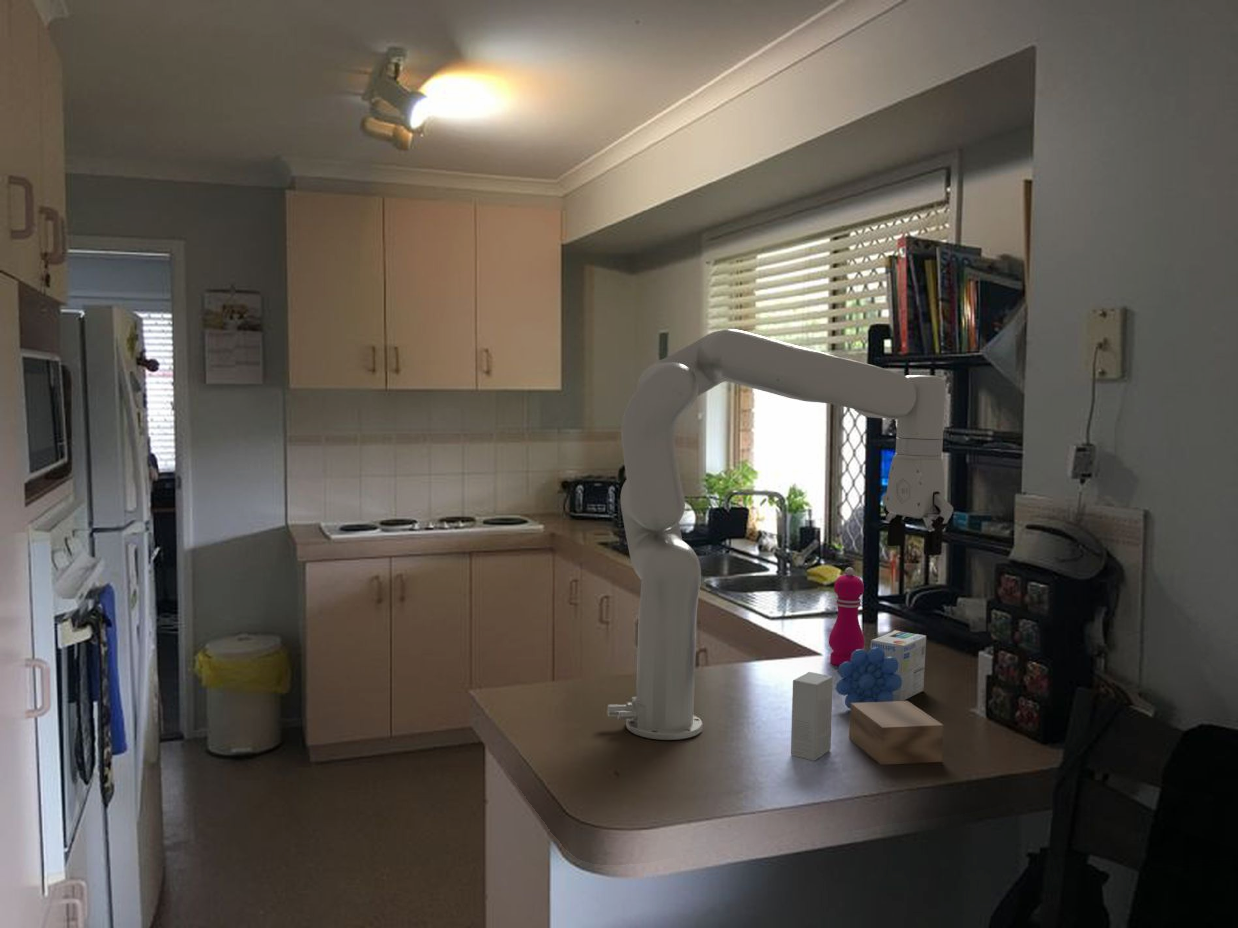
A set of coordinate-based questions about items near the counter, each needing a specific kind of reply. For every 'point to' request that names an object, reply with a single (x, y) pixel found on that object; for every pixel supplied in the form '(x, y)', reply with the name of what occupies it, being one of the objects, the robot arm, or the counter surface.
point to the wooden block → (896, 732)
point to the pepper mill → (846, 618)
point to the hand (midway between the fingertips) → (913, 550)
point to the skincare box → (811, 715)
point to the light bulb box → (905, 660)
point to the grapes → (868, 677)
